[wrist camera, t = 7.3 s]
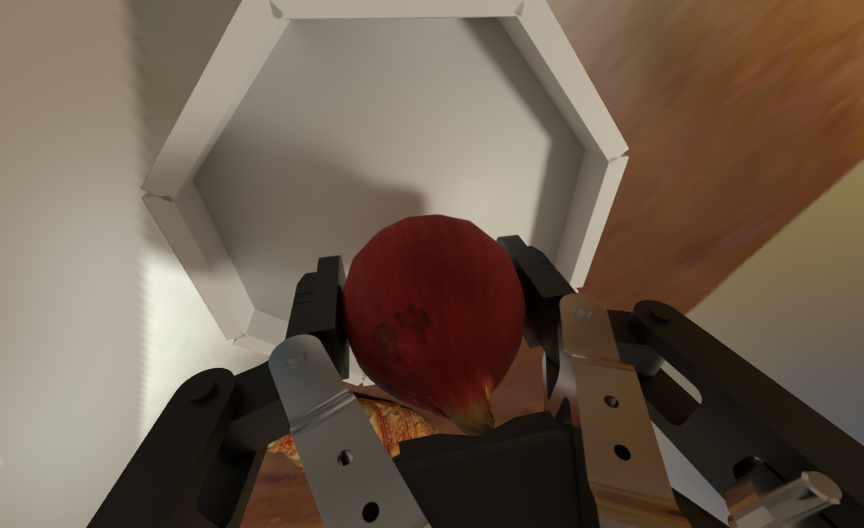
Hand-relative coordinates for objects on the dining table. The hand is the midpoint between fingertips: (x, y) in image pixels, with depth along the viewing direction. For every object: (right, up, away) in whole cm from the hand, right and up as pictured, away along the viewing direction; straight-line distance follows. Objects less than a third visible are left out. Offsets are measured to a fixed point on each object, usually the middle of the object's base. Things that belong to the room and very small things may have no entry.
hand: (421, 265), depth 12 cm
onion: (0, +1, +1) cm, 2 cm away
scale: (-2, +6, +8) cm, 10 cm away
